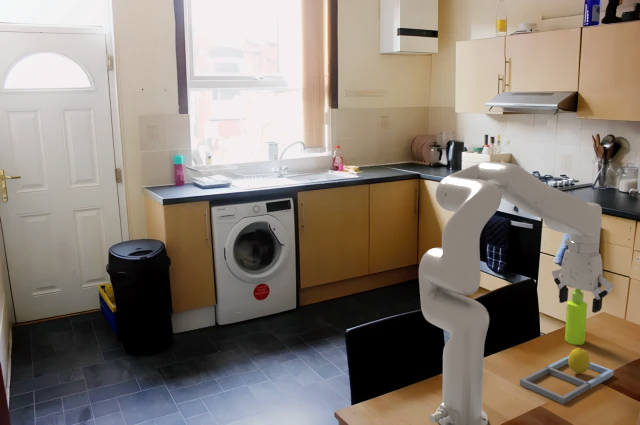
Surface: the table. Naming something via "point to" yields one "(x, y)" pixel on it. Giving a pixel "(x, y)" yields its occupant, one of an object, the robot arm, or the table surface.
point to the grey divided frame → (572, 394)
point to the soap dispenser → (576, 319)
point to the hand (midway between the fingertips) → (579, 306)
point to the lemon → (578, 360)
